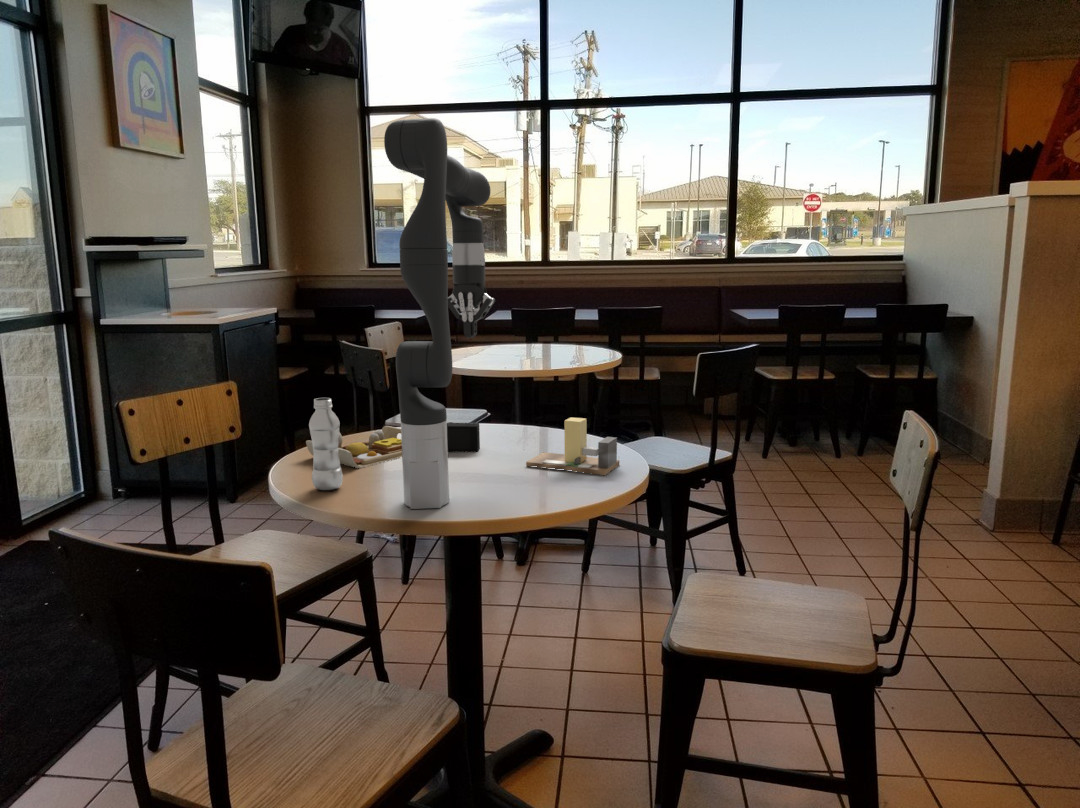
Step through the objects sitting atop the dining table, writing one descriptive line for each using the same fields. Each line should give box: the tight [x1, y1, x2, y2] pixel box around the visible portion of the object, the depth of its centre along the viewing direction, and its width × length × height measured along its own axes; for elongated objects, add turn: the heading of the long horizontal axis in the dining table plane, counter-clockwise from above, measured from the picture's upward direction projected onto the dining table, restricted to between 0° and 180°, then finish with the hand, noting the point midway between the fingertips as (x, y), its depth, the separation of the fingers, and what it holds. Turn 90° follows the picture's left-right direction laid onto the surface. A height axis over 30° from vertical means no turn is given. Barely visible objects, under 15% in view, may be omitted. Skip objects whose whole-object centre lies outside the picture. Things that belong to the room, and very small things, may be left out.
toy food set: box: [305, 425, 402, 469], centre depth 201 cm, size 25×18×8 cm
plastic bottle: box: [308, 397, 344, 491], centre depth 171 cm, size 6×7×20 cm
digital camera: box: [447, 421, 481, 453], centre depth 205 cm, size 10×5×7 cm, turn 87°
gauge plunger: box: [563, 417, 598, 464], centre depth 186 cm, size 8×6×10 cm
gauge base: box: [525, 436, 620, 476], centre depth 188 cm, size 20×10×7 cm, turn 65°
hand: (470, 337), depth 187 cm, fingers closed
